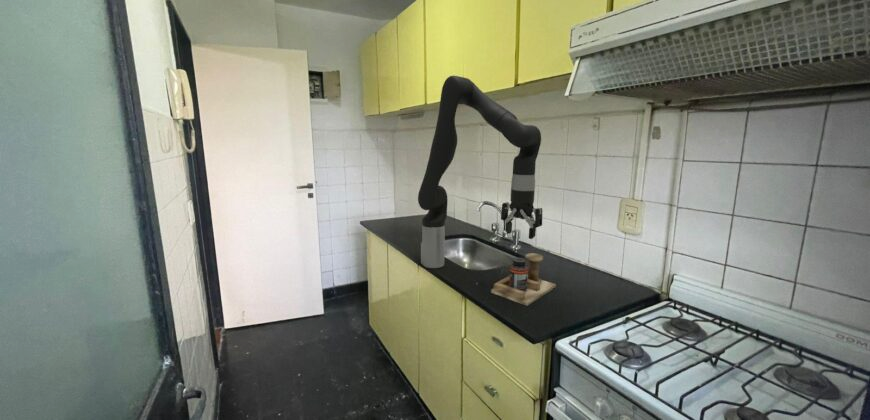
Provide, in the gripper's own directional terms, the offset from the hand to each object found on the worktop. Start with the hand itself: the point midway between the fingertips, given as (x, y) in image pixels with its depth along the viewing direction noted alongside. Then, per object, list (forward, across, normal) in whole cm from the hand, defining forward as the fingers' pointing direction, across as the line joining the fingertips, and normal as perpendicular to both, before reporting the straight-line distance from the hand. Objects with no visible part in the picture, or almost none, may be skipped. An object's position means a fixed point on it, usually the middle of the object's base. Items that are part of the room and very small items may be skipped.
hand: (519, 235), depth 118 cm
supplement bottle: (+20, +1, -1) cm, 20 cm away
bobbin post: (+20, +1, +9) cm, 22 cm away
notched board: (+20, +1, +3) cm, 21 cm away
